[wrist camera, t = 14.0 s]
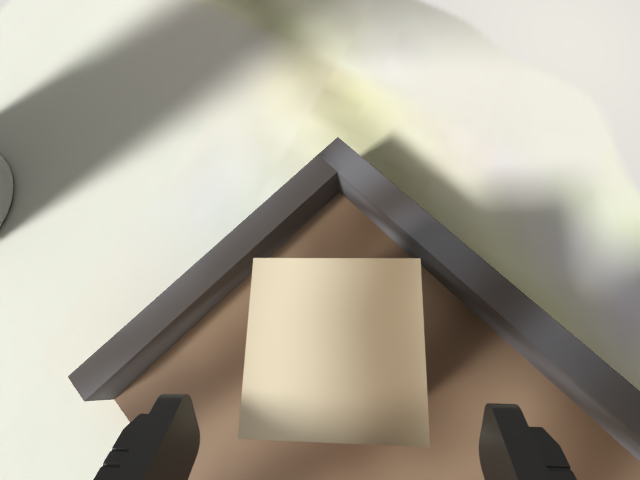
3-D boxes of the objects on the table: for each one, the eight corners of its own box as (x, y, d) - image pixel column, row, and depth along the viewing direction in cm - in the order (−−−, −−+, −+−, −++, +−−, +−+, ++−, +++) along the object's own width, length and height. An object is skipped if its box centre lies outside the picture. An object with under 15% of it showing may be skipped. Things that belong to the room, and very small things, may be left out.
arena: (109, 377, 23) (67, 376, 20) (340, 168, 26) (337, 137, 23) (406, 799, 16) (417, 903, 13) (670, 455, 19) (733, 470, 16)
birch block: (294, 413, 20) (237, 438, 11) (299, 308, 22) (253, 253, 13) (397, 417, 20) (429, 447, 11) (394, 310, 22) (420, 253, 12)
